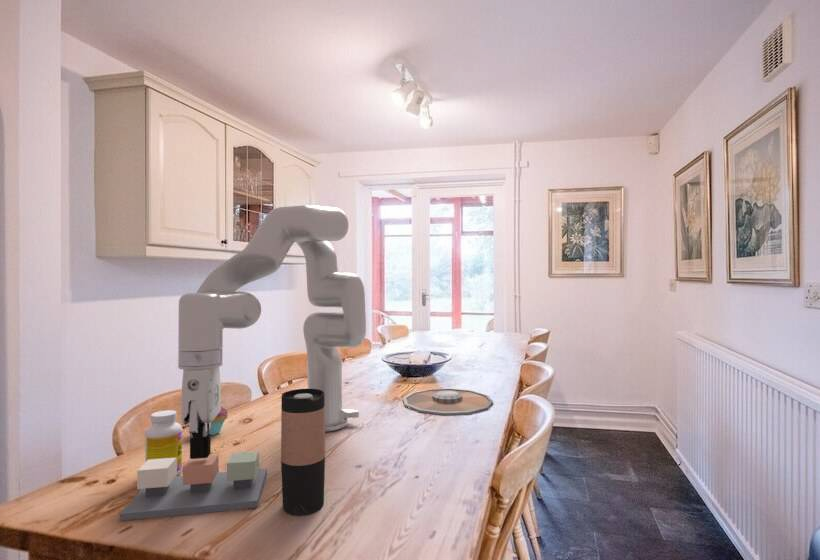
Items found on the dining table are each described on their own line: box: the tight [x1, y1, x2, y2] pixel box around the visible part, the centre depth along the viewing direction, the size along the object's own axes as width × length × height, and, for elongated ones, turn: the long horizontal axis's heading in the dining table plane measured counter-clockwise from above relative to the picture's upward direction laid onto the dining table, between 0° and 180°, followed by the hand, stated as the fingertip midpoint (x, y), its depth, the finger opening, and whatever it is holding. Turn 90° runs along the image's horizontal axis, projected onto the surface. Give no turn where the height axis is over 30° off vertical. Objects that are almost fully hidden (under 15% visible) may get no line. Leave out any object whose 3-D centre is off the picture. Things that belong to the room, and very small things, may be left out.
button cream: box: [136, 457, 178, 490], centre depth 82 cm, size 5×5×3 cm
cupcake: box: [207, 406, 229, 436], centre depth 118 cm, size 9×8×12 cm
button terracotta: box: [182, 453, 220, 485], centre depth 83 cm, size 5×5×3 cm
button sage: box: [226, 451, 260, 481], centre depth 85 cm, size 5×5×3 cm
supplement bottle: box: [144, 409, 183, 476], centre depth 92 cm, size 7×7×13 cm
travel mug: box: [280, 388, 326, 517], centre depth 79 cm, size 8×8×20 cm
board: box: [119, 467, 268, 522], centre depth 83 cm, size 22×14×3 cm, turn 101°
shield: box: [402, 388, 494, 416], centre depth 147 cm, size 30×3×30 cm
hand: (200, 456), depth 83 cm, fingers closed
